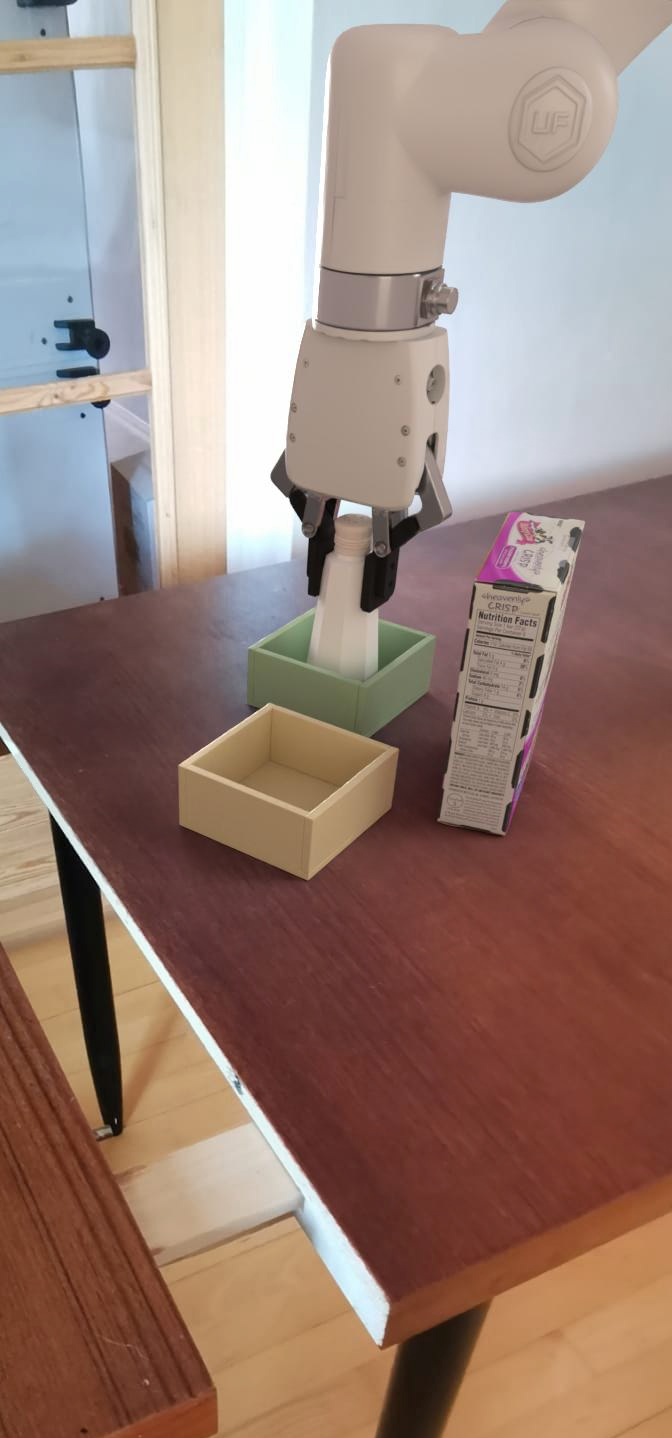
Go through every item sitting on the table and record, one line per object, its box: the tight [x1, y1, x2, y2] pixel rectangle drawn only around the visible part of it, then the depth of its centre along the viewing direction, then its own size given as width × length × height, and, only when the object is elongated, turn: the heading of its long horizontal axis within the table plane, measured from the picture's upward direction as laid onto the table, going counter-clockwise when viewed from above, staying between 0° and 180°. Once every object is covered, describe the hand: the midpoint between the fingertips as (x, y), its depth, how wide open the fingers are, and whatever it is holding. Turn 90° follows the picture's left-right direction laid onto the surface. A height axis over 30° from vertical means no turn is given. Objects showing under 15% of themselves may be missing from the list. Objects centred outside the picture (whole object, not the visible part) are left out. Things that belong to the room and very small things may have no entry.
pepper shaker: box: [307, 512, 379, 683], centre depth 79 cm, size 5×5×11 cm
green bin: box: [246, 605, 437, 738], centre depth 83 cm, size 10×10×4 cm
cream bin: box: [177, 703, 400, 881], centre depth 71 cm, size 10×10×4 cm
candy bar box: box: [436, 511, 586, 837], centre depth 69 cm, size 11×5×16 cm, turn 158°
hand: (348, 595), depth 79 cm, fingers closed on pepper shaker, 3 cm apart
